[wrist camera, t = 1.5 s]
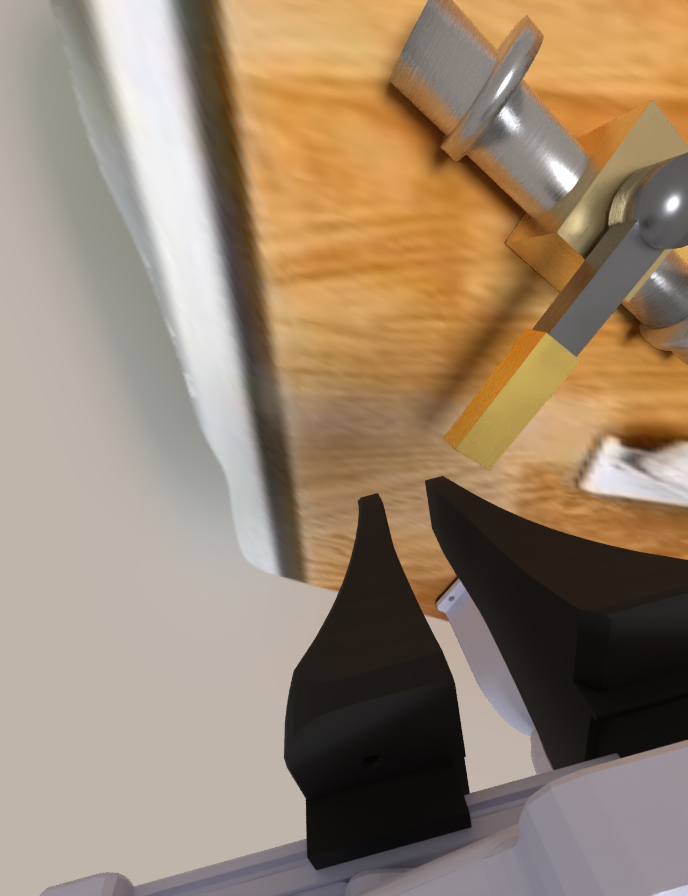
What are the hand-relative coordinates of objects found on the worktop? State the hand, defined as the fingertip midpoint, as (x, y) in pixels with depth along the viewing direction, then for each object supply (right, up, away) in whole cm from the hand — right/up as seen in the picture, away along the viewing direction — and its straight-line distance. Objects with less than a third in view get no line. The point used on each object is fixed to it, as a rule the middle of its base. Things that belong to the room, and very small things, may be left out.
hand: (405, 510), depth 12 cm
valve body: (+9, +14, +6) cm, 18 cm away
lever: (+7, +8, +4) cm, 11 cm away
